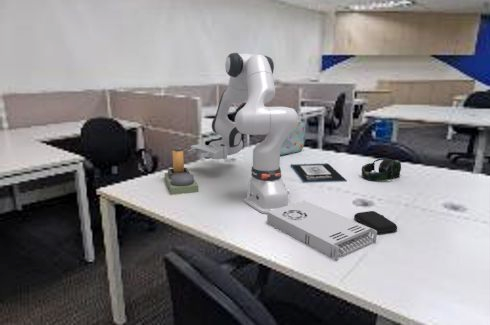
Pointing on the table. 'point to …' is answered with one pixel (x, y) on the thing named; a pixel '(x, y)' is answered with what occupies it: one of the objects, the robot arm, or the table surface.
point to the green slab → (181, 182)
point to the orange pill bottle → (178, 159)
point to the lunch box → (294, 140)
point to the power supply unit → (322, 229)
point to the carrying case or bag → (375, 221)
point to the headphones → (382, 170)
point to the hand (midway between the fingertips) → (194, 154)
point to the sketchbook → (317, 173)
